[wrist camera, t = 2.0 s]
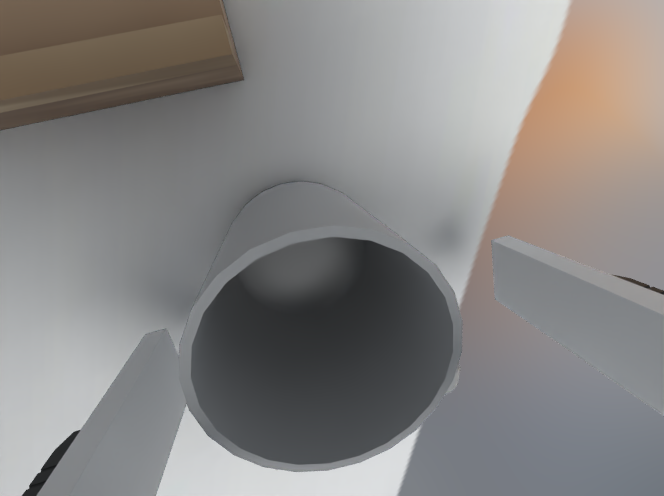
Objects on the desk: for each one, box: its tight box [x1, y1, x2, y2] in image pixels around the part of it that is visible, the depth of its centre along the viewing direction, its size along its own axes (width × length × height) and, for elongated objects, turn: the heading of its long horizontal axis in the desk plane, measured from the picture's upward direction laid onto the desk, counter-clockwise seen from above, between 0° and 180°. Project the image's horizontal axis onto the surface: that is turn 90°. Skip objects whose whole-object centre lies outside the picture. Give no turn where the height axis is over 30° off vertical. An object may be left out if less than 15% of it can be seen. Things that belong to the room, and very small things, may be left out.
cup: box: [179, 181, 462, 472], centre depth 13 cm, size 7×10×9 cm
